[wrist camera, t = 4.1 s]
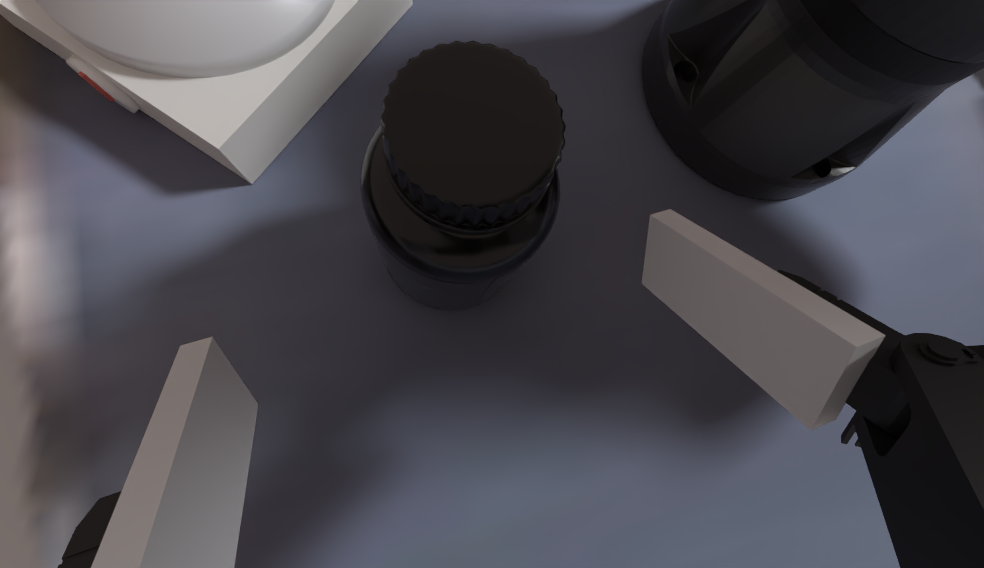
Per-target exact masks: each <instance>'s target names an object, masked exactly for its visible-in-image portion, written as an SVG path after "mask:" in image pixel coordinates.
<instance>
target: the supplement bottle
mask: <svg viewBox="0 0 984 568" xmlns="http://www.w3.org/2000/svg"><path fill="white" fill-rule="evenodd" d="M383 111H384V112H383V114H382V117H381V124H380V126H379V127H378V129H377V130H376V131H375V133H374V134H373V136H372V138H371V140H370V142H369V144H368V146H367V149H366V151H365V154H364V158H363V162H362V167H361V177H360V185H361V195H362V201H363V205H364V209H365V213H366V216H367V219H368V221H369V224H370V227H371V229H372V232H373V234H374V237H375V240H376V242H377V245H378V247H379V250H380V252H381V255H382V258H383V260H384V263H385V265H386V267H387V269H388V271H389V273H390V275H391V277H392V279H393V280H394V282H395V283H396V284H397V285H398V287H399V288H400V289H401V290H402V291H403V292H404V293H405V294H407V295H408V296H409V297H410V298H412V299H413V300H415V301H417V302H419V303H421V304H423V305H425V306H428V307H431V308H435V309H440V310H460V309H466V308H469V307H472V306H475V305H478V304H480V303H482V302H484V301H485V300H487V299H488V298H490V297H491V296H492V295H494V294H495V293H496V292H497V291H498V290H499V289H500V288H501V287H502V286H503V285H504V284H505V283H506V282H507V281H508V280H509V279H510V278H511V277H512V276H513V275H514V274H515V273H516V272H517V271H518V270H519V269H520V268H521V267H522V266H523V265H524V264H525V263H526V262H527V261H528V260H529V259H530V258H531V257H532V256H533V255H534V254H535V252H536V251H537V250H538V249H539V248H540V246H541V245H542V243H543V242H544V240H545V239H546V237H547V236H548V234H549V232H550V230H551V228H552V226H553V224H554V221H555V218H556V215H557V211H558V206H559V199H560V181H559V174H558V169H557V166H558V165H559V163H560V162H561V151H562V149H563V147H564V145H565V139H564V135H563V134H564V131H565V127H566V126H565V124H564V122H563V120H562V113H563V110H562V109H561V107H560V106H559V104H558V103H557V95H556V94H555V93H554V92H553V91H552V90H551V89H550V87H549V83H548V81H547V80H546V79H544V78H543V77H542V76H540V74H539V72H538V70H537V69H536V68H535V67H533V66H531V65H529V64H527V62H526V61H525V60H524V59H523V58H522V57H519V56H515V55H513V54H512V53H511V52H510V51H509V50H507V49H500V48H497V47H496V46H494V45H492V44H480V43H478V42H475V41H470V42H466V43H463V42H459V41H455V42H452V43H450V44H438V45H437V46H435V47H434V48H433V49H427V50H423V51H422V52H421V53H420V55H419V56H417V57H414V58H412V59H409V61H408V63H407V65H406V67H404V68H402V69H400V70H399V71H398V72H397V75H396V79H395V80H394V81H393V82H391V83H390V84H389V87H388V95H387V96H386V97H385V99H384V100H383Z"/></svg>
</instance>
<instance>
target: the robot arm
mask: <svg viewBox="0 0 984 568" xmlns="http://www.w3.org/2000/svg"><path fill="white" fill-rule="evenodd" d="M983 68H984V0H671V1H670V2H669V4H668V5H667V7H666V8H665V10H664V11H663V13H662V14H661V16H660V17H659V19H658V20H657V22H656V23H655V25H654V27H653V28H652V30H651V32H650V34H649V37H648V40H647V43H646V46H645V50H644V56H643V83H644V89H645V94H646V98H647V102H648V105H649V108H650V110H651V113H652V115H653V117H654V120H655V122H656V124H657V125H658V127H659V129H660V131H661V132H662V134H663V136H664V137H665V139H666V140H667V141H668V143H669V144H670V146H671V147H672V148H673V149H674V150H675V152H676V153H677V154H678V155H679V156H680V157H681V158H682V159H683V160H684V161H685V162H686V163H687V164H688V165H689V166H690V167H692V168H693V169H694V170H695V171H696V172H698V173H699V174H700V175H702V176H703V177H705V178H706V179H708V180H709V181H711V182H713V183H714V184H716V185H718V186H720V187H722V188H724V189H726V190H729V191H731V192H734V193H736V194H740V195H743V196H747V197H751V198H756V199H765V200H781V199H789V198H794V197H798V196H801V195H804V194H807V193H809V192H811V191H813V190H816V189H818V188H820V187H822V186H825V185H827V184H829V183H831V182H833V181H836V180H838V179H840V178H842V177H843V176H845V175H847V174H848V173H850V172H851V171H853V170H854V169H856V168H857V167H858V166H860V165H861V164H862V163H863V162H864V161H865V160H866V159H868V158H869V157H870V156H871V155H872V154H873V153H874V152H875V151H877V150H878V149H879V148H880V147H881V146H882V145H883V144H885V143H886V142H887V141H888V140H889V139H890V138H891V137H892V136H894V135H895V134H896V133H897V132H898V131H899V130H900V129H901V128H903V127H904V126H905V125H906V124H907V123H908V122H909V121H910V120H912V119H913V118H914V117H915V116H916V115H917V114H918V113H920V112H921V111H922V110H923V109H924V108H925V107H926V106H927V105H929V104H930V103H931V102H932V101H933V100H934V99H935V98H936V97H938V96H939V95H940V94H941V93H942V92H943V91H944V90H946V89H947V88H949V87H950V86H952V85H953V84H955V83H957V82H959V81H961V80H962V79H964V78H966V77H968V76H970V75H972V74H974V73H975V72H977V71H979V70H981V69H983ZM642 284H643V285H644V286H645V287H646V288H647V289H649V290H650V291H651V292H652V293H653V294H654V295H655V296H657V297H658V298H659V299H660V300H661V301H662V302H663V303H665V304H666V305H667V306H668V307H669V308H670V309H671V310H673V311H674V312H675V313H676V314H677V315H678V316H680V317H681V318H682V319H683V320H684V321H685V322H686V323H688V324H689V325H690V326H691V327H692V328H693V329H694V330H696V331H697V332H698V333H699V334H700V335H701V336H703V337H704V338H705V339H706V340H707V341H708V342H709V343H711V344H712V345H713V346H714V347H715V348H716V349H717V350H719V351H720V352H721V353H722V354H723V355H724V356H726V357H727V358H728V359H729V360H730V361H731V362H732V363H734V364H735V365H736V366H737V367H738V368H739V369H740V370H742V371H743V372H744V373H745V374H746V375H747V376H748V377H750V378H751V379H752V380H753V381H754V382H755V383H757V384H758V385H759V386H760V387H761V388H762V389H763V390H765V391H766V392H767V393H768V394H769V395H770V396H771V397H773V398H774V399H775V400H776V401H777V402H778V403H780V404H781V405H782V406H783V407H784V408H785V409H786V410H788V411H789V412H790V413H791V414H792V415H793V416H794V417H796V418H797V419H798V420H799V421H800V422H801V423H803V424H804V425H805V426H806V427H807V428H808V429H809V430H813V429H815V428H818V427H820V426H822V425H824V424H827V423H829V422H831V421H834V420H836V418H837V416H838V415H839V413H840V411H841V410H842V408H843V406H844V405H845V403H847V404H848V405H850V406H851V407H852V408H854V409H855V410H856V413H855V414H854V416H853V417H852V419H851V421H850V422H849V424H848V425H847V427H846V428H845V430H844V432H843V433H842V435H841V443H844V444H847V443H848V442H849V440H850V439H851V437H852V436H853V434H854V432H856V433H857V436H858V440H857V441H856V443H855V446H858V447H861V448H862V451H863V454H864V457H865V460H866V463H867V466H868V470H869V473H870V476H871V479H872V482H873V485H874V488H875V491H876V494H877V497H878V500H879V503H880V506H881V509H882V512H883V516H884V519H885V522H886V525H887V528H888V531H889V534H890V537H891V540H892V543H893V546H894V549H895V552H896V555H897V558H898V562H899V565H900V568H984V345H978V346H965V345H963V344H962V343H959V342H957V341H954V340H952V339H949V338H947V337H943V336H939V335H934V334H930V333H913V334H909V335H903V334H901V333H899V332H897V331H895V330H893V329H892V328H890V327H888V326H886V325H885V324H883V323H881V322H879V321H878V320H876V319H874V318H872V317H871V316H869V315H867V314H865V313H864V312H862V311H860V310H858V309H857V308H855V307H853V306H851V305H850V304H848V303H846V302H844V301H842V300H837V297H835V296H834V295H832V294H830V293H828V292H827V291H822V290H821V288H820V287H818V286H816V285H814V284H813V283H811V282H809V281H807V280H806V279H804V278H802V277H799V276H796V275H793V274H790V273H787V272H784V271H781V270H778V271H775V270H773V269H772V268H770V267H768V266H767V265H765V264H763V263H761V262H760V261H758V260H756V259H755V258H753V257H751V256H750V255H748V254H746V253H744V252H743V251H741V250H739V249H738V248H736V247H734V246H733V245H731V244H729V243H727V242H726V241H724V240H722V239H721V238H719V237H717V236H716V235H714V234H712V233H710V232H709V231H707V230H705V229H704V228H702V227H700V226H698V225H697V224H695V223H693V222H692V221H690V220H688V219H687V218H685V217H683V216H681V215H680V214H678V213H676V212H675V211H673V210H671V209H668V210H665V211H661V212H657V213H654V214H650V219H649V227H648V235H647V243H646V251H645V260H644V268H643V276H642ZM257 411H258V403H257V402H256V400H255V399H254V397H253V396H252V394H251V393H250V391H249V390H248V388H247V387H246V385H245V384H244V382H243V381H242V379H241V378H240V377H239V375H238V374H237V372H236V371H235V369H234V368H233V366H232V365H231V363H230V362H229V360H228V359H227V357H226V356H225V354H224V353H223V351H222V350H221V348H220V347H219V345H218V344H217V342H216V341H215V340H214V338H213V337H209V338H205V339H202V340H198V341H195V342H191V343H188V344H184V345H180V347H179V350H178V352H177V355H176V357H175V360H174V362H173V365H172V367H171V370H170V372H169V375H168V377H167V380H166V382H165V385H164V387H163V390H162V392H161V395H160V397H159V400H158V402H157V405H156V407H155V410H154V412H153V415H152V417H151V420H150V422H149V425H148V427H147V430H146V432H145V435H144V437H143V439H142V442H141V444H140V447H139V449H138V452H137V454H136V457H135V459H134V462H133V464H132V467H131V469H130V472H129V474H128V477H127V479H126V482H125V484H124V487H123V489H122V491H121V492H118V493H115V494H112V495H109V496H106V497H103V498H100V499H99V500H98V501H97V502H96V503H95V505H94V506H93V507H92V508H91V510H90V511H89V512H88V514H87V515H86V516H85V517H84V519H83V520H82V521H81V522H80V524H79V525H78V526H77V527H76V529H75V531H74V533H73V535H72V537H71V540H70V542H69V544H68V546H67V548H66V550H65V553H64V555H63V557H62V560H63V562H62V564H60V565H59V566H58V568H234V566H235V559H236V552H237V545H238V539H239V532H240V525H241V518H242V512H243V505H244V498H245V491H246V485H247V478H248V471H249V465H250V458H251V451H252V444H253V438H254V431H255V424H256V417H257Z"/></svg>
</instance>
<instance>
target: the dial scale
mask: <svg viewBox="0 0 984 568" xmlns="http://www.w3.org/2000/svg"><path fill="white" fill-rule="evenodd" d="M411 6H412V0H0V15H2V16H3V17H4V18H5V19H6V20H8V21H9V22H10V23H11V24H12V25H14V26H15V27H16V28H18V29H19V30H21V31H22V32H24V33H25V34H27V35H28V36H30V37H31V38H33V39H34V40H36V41H37V42H39V43H40V44H42V45H43V46H45V47H46V48H48V49H49V50H51V51H52V52H54V53H55V54H57V55H58V56H60V57H61V58H63V59H64V60H66V61H65V62H66V63H67V64H68V65H69V66H70V67H71V68H72V69H73V70H75V71H76V72H77V73H78V75H80V76H81V77H82V78H83V79H84V80H85V81H87V82H88V83H89V84H90V85H91V86H93V87H94V88H95V89H96V90H97V91H99V92H100V93H101V94H102V95H103V96H105V97H106V98H107V99H108V100H110V101H111V102H113V101H115V102H116V103H118V104H119V105H121V106H122V107H124V108H125V109H127V110H128V111H130V112H132V113H135V112H136V111H138V110H139V109H140V110H141V111H143V112H144V113H146V114H147V115H149V116H150V117H152V118H153V119H155V120H156V121H158V122H159V123H161V124H162V125H164V126H165V127H167V128H168V129H170V130H171V131H173V132H174V133H176V134H177V135H179V136H180V137H182V138H183V139H185V140H186V141H188V142H189V143H191V144H192V145H194V146H195V147H197V148H198V149H200V150H201V151H203V152H204V153H206V154H207V155H209V156H210V157H212V158H213V159H215V160H216V161H218V162H219V163H221V164H222V165H224V166H225V167H227V168H228V169H230V170H231V171H233V172H234V173H236V174H237V175H239V176H240V177H242V178H243V179H245V180H246V181H248V182H249V183H251V184H253V183H254V182H255V181H256V179H257V178H258V177H259V176H260V175H261V174H262V173H263V172H264V170H265V169H266V168H267V167H268V166H269V165H270V164H271V163H272V162H273V160H274V159H275V158H276V157H277V156H278V155H279V154H280V153H281V151H282V150H283V149H284V148H285V147H286V146H287V145H288V144H289V142H290V141H291V140H292V139H293V138H294V137H295V136H296V135H297V134H298V132H299V131H300V130H301V129H302V128H303V127H304V126H305V125H306V123H307V122H308V121H309V120H310V119H311V118H312V117H313V116H314V115H315V113H316V112H317V111H318V110H319V109H320V108H321V107H322V106H323V104H324V103H325V102H326V101H327V100H328V99H329V98H330V97H331V95H332V94H333V93H334V92H335V91H336V90H337V89H338V88H339V87H340V85H341V84H342V83H343V82H344V81H345V80H346V79H347V78H348V76H349V75H350V74H351V73H352V72H353V71H354V70H355V69H356V68H357V66H358V65H359V64H360V63H361V62H362V61H363V60H364V59H365V57H366V56H367V55H368V54H369V53H370V52H371V51H372V50H373V48H374V47H375V46H376V45H377V44H378V43H379V42H380V41H381V40H382V38H383V37H384V36H385V35H386V34H387V33H388V32H389V31H390V29H391V28H392V27H393V26H394V25H395V24H396V23H397V22H398V21H399V19H400V18H401V17H402V16H403V15H404V14H405V13H406V12H407V10H408V9H409V8H410V7H411Z"/></svg>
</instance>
